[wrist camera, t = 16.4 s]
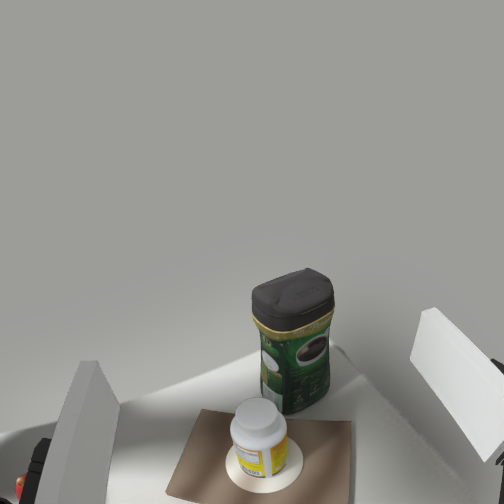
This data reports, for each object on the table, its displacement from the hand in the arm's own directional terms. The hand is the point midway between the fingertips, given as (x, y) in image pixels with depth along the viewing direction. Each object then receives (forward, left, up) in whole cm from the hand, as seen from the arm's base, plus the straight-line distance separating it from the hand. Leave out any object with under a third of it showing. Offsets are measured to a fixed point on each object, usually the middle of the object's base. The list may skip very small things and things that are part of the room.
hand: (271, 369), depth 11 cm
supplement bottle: (-4, +9, -25) cm, 27 cm away
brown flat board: (-3, +9, -26) cm, 28 cm away
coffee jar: (-1, +22, -27) cm, 35 cm away
